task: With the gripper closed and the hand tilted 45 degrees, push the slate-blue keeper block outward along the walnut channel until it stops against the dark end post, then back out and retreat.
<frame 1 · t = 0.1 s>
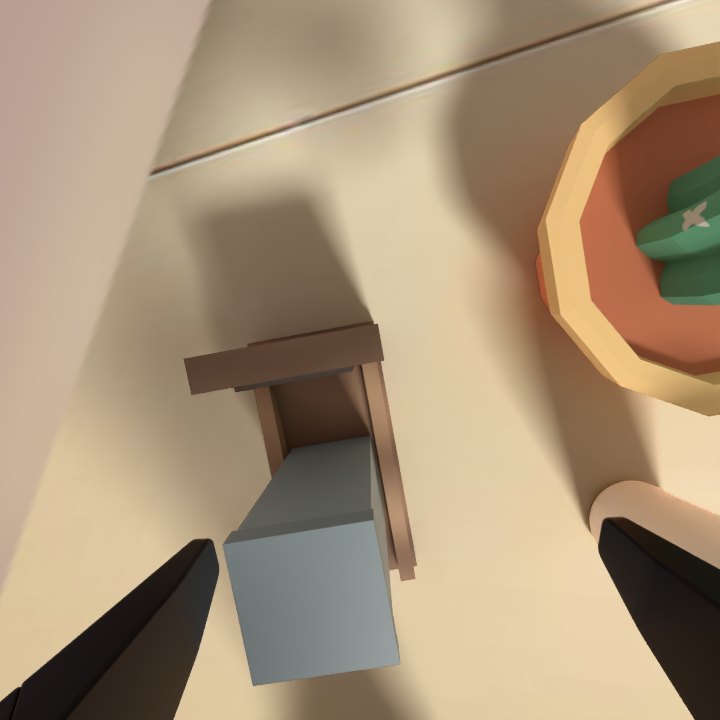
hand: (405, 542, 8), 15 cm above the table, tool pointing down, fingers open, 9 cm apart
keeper: (329, 523, 18), point 6 cm above the table, slide at 0.0 cm
potted cactus: (605, 267, 23), on the table
drinking glass: (623, 514, 24), on the table
track: (335, 451, 24), on the table
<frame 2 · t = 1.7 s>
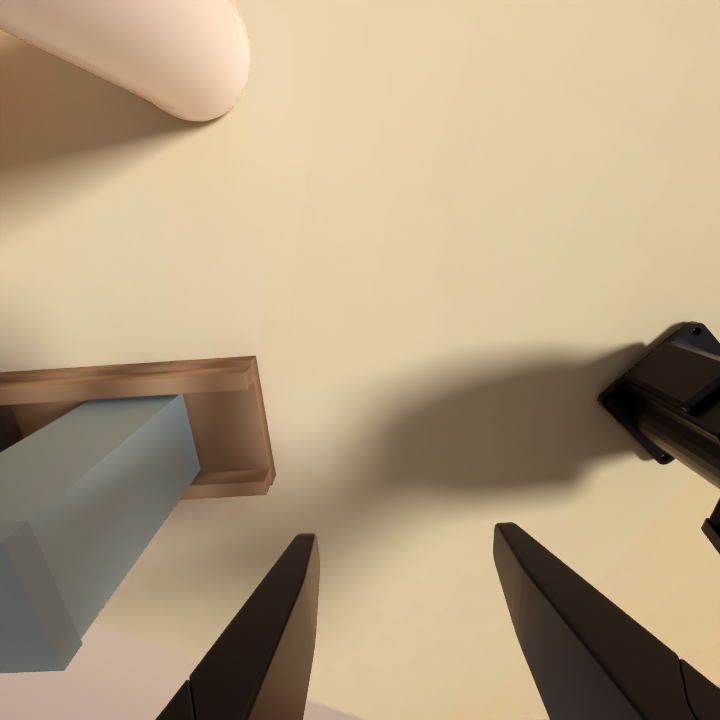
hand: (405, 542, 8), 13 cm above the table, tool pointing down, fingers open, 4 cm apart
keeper: (81, 496, 16), point 7 cm above the table, slide at 0.0 cm
drinking glass: (196, 59, 16), on the table
track: (136, 426, 22), on the table
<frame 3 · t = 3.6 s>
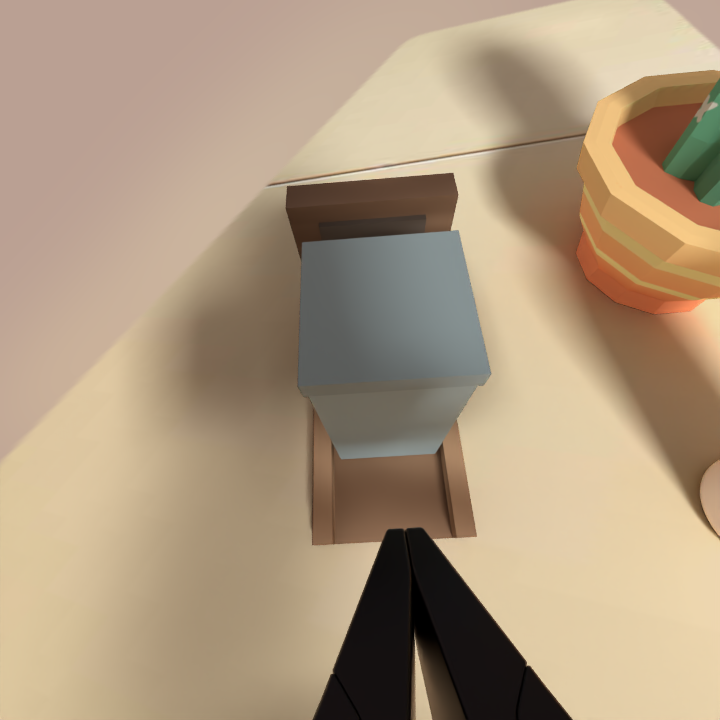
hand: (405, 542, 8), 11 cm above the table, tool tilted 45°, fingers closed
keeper: (384, 372, 16), point 6 cm above the table, slide at 0.0 cm
potted cactus: (642, 262, 26), on the table
track: (381, 394, 22), on the table
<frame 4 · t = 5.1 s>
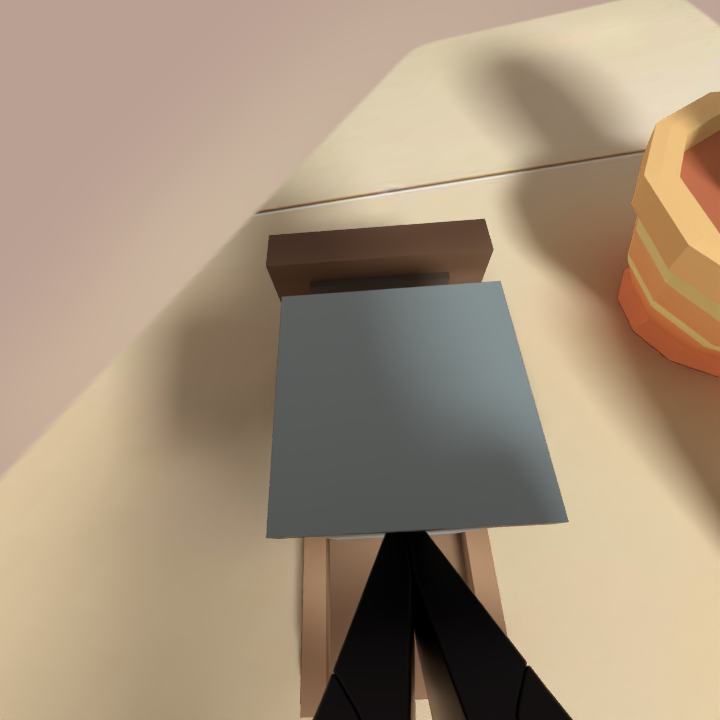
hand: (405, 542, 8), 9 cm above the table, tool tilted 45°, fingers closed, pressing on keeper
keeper: (393, 450, 12), point 7 cm above the table, slide at 1.4 cm, touching gripper
potted cactus: (697, 309, 22), on the table
track: (389, 479, 18), on the table
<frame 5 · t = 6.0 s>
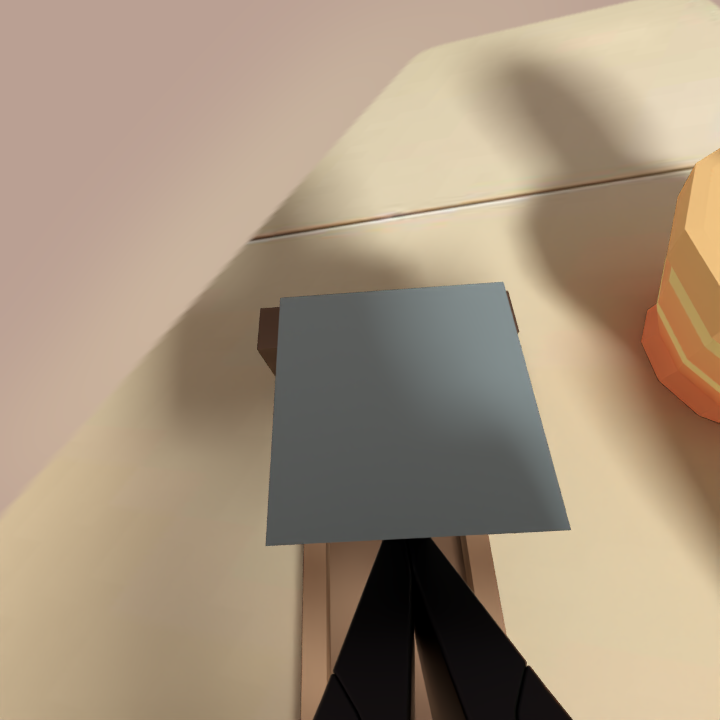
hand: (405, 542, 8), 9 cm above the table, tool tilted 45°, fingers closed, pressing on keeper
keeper: (393, 449, 12), point 7 cm above the table, slide at 4.8 cm, touching gripper, track
track: (394, 553, 16), on the table
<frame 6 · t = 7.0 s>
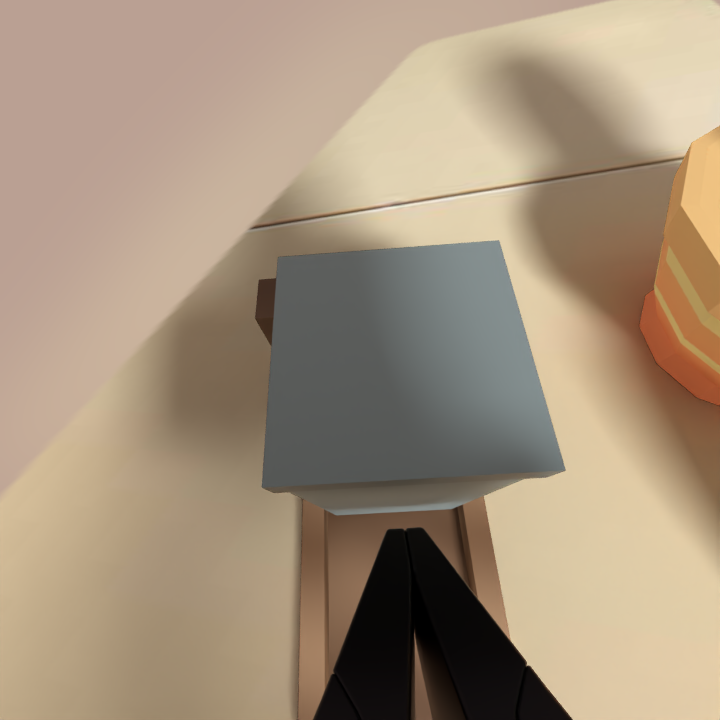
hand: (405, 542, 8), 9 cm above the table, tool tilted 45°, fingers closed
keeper: (391, 421, 12), point 7 cm above the table, slide at 4.8 cm
track: (393, 533, 16), on the table
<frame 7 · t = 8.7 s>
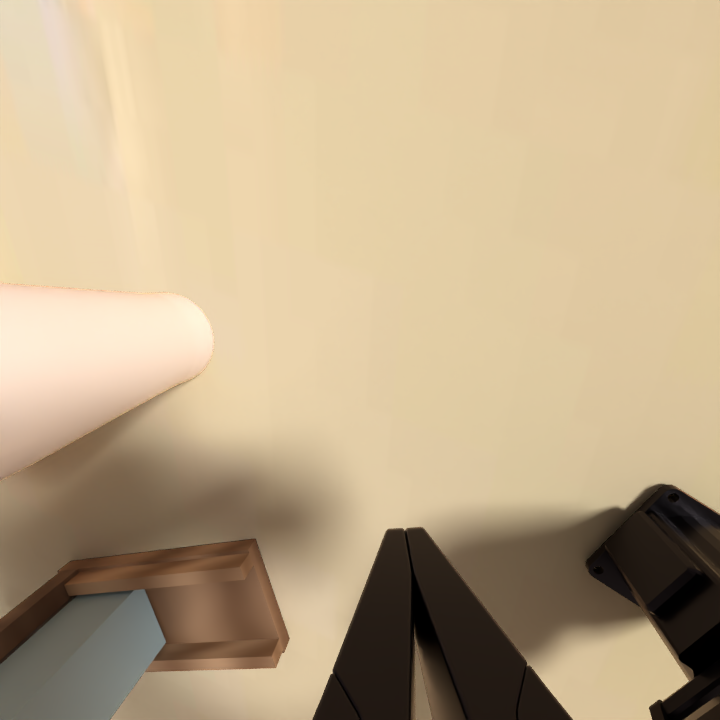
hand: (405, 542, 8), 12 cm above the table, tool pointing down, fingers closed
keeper: (52, 695, 21), point 6 cm above the table, slide at 4.8 cm
drinking glass: (180, 336, 22), on the table
track: (175, 598, 27), on the table
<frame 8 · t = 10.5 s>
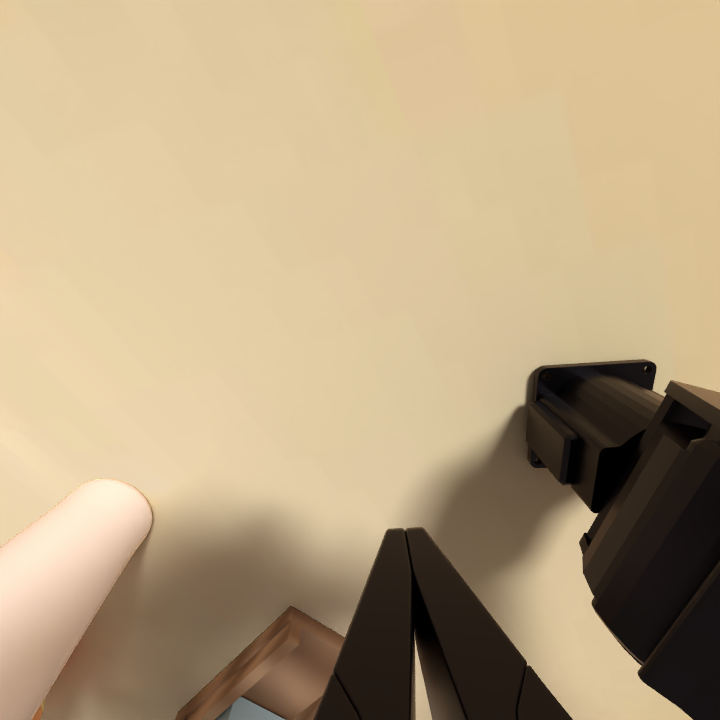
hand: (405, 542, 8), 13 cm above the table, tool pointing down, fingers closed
drinking glass: (118, 505, 24), on the table
track: (272, 684, 29), on the table
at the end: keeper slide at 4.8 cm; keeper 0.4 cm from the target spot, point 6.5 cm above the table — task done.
